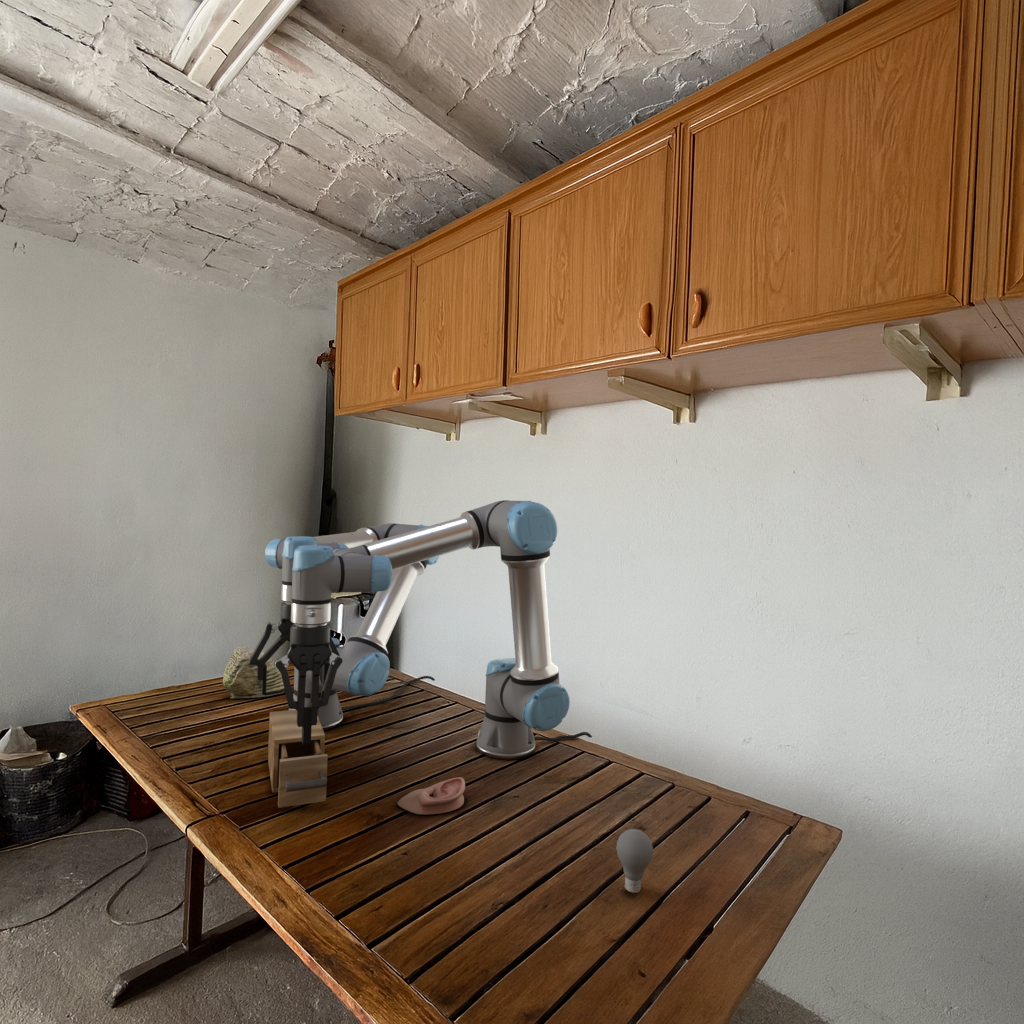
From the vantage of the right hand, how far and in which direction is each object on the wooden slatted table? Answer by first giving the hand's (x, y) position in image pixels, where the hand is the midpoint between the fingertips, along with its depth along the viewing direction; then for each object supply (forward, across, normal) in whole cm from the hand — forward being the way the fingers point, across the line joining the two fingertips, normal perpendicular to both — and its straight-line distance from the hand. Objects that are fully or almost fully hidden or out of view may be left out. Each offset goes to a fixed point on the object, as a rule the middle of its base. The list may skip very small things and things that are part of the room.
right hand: (306, 741), depth 126 cm
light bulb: (+15, +48, -44) cm, 67 cm away
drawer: (+14, 0, +8) cm, 16 cm away
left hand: (-2, 0, +26) cm, 27 cm away
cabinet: (+15, 0, +21) cm, 25 cm away
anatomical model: (+15, +25, -4) cm, 30 cm away
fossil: (+15, -7, +82) cm, 83 cm away
